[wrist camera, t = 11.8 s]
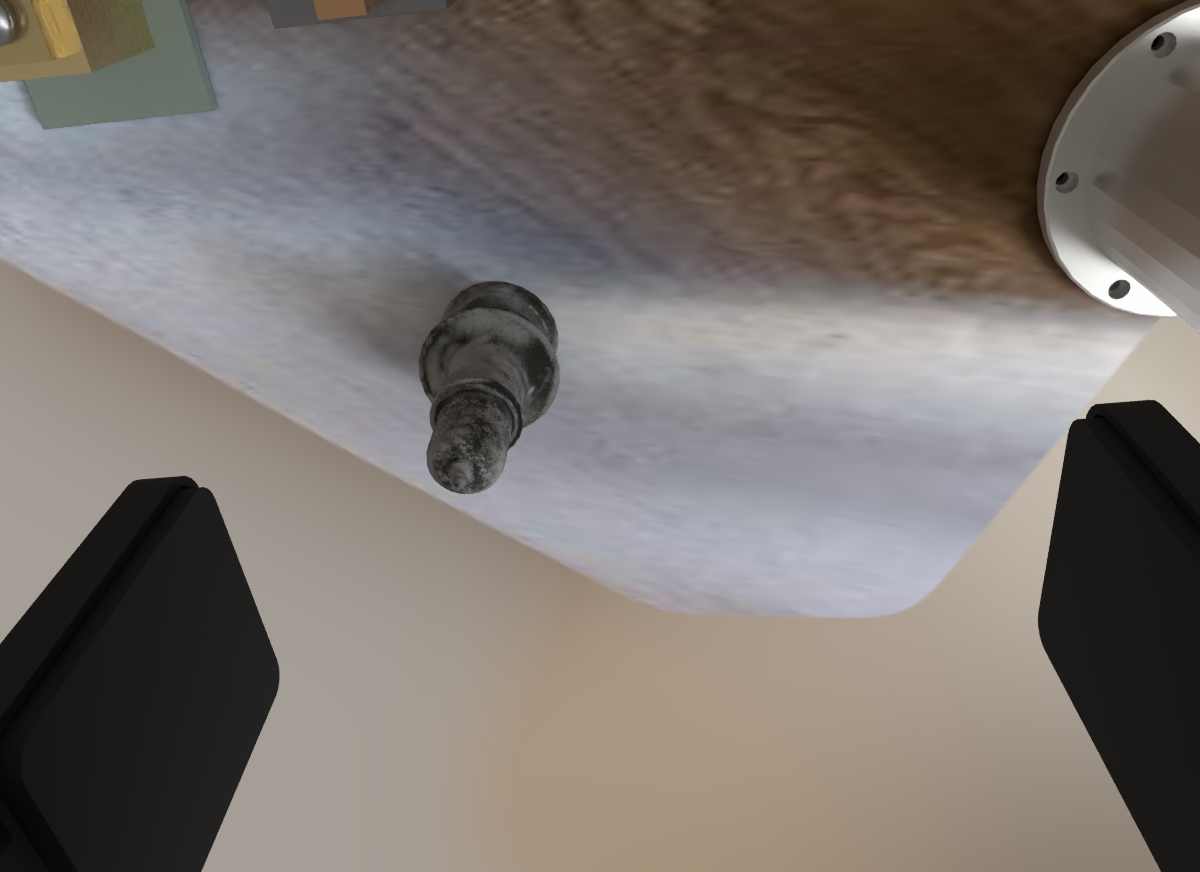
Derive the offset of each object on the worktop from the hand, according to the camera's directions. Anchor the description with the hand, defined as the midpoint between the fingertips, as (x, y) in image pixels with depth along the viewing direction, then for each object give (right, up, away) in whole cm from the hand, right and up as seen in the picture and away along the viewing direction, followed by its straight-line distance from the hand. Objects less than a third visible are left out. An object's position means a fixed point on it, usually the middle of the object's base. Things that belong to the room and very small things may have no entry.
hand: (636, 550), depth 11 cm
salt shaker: (-5, +6, +32) cm, 33 cm away
